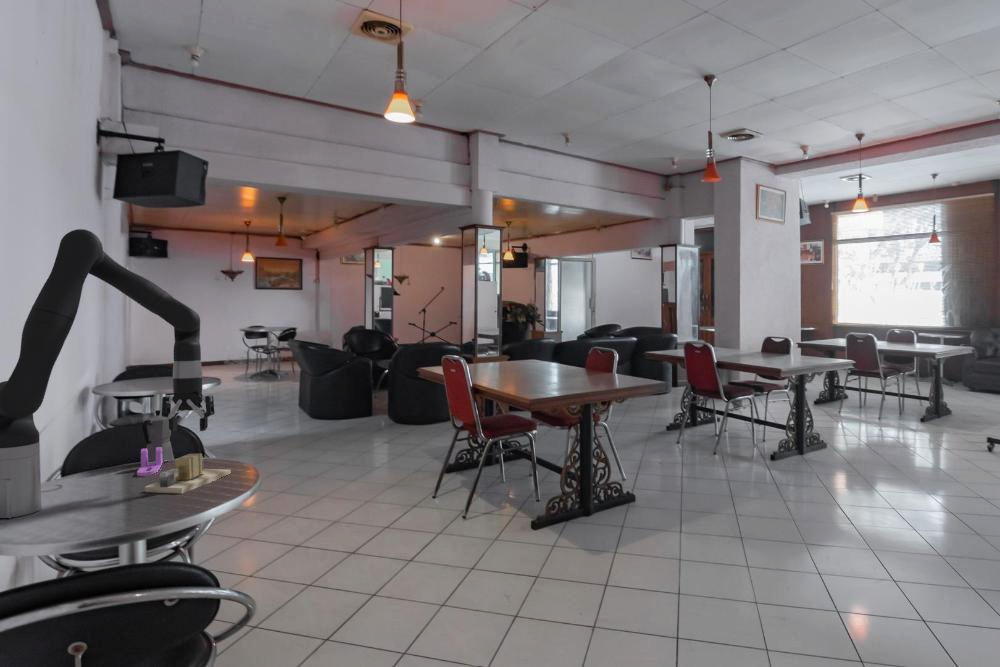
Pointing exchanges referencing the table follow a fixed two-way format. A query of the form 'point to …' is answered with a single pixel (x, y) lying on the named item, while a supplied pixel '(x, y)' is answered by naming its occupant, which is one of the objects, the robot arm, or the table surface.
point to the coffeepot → (157, 436)
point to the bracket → (153, 467)
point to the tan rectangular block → (189, 466)
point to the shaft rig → (180, 486)
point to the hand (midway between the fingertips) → (188, 430)
